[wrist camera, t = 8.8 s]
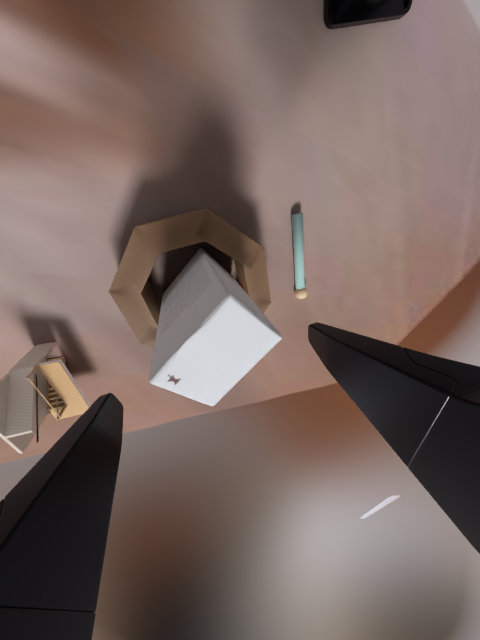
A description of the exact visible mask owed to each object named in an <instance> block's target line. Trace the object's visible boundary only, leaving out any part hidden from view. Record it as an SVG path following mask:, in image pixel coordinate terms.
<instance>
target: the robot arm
mask: <svg viewBox="0 0 480 640" xmlns="http://www.w3.org/2000/svg"><path fill="white" fill-rule="evenodd" d="M403 4H404V7H403ZM411 4H412V0H325V14H324V19H325V24H326V27H327V28H328V29H335V28H342V27H349V26H356V25H362V24H369V23H376V22H383V21H389V20H396V19H400V18H402V17H403V16H404V15H405V14H406V13H407V12H408V11H409V9H410V7H411ZM332 11H333V12H334V18H333V17H332ZM308 338H309V342H310V344H311V346H312V347H313V349H314V350H315V352H316V353H317V355H318V356H319V358H320V359H321V361H322V362H323V364H324V365H325V367H326V368H327V370H328V371H329V372H330V373H331V375H332V376H333V377H334V378H335V379H336V381H337V382H338V383H339V384H340V386H341V387H342V388H343V389H344V390H345V392H346V393H347V394H348V395H349V396H350V398H351V399H352V400H353V401H354V402H355V404H356V405H357V406H358V407H359V408H360V410H361V411H362V412H363V413H364V415H365V416H366V417H367V418H368V419H369V421H370V422H371V423H372V424H373V426H374V427H375V428H376V429H377V430H378V431H379V433H380V434H381V435H382V436H383V438H384V439H385V440H386V441H387V443H388V444H389V445H390V446H391V447H392V449H393V450H394V451H395V452H396V453H397V455H398V456H399V457H400V458H401V459H402V461H403V462H404V463H405V464H406V466H408V468H409V469H410V471H411V472H412V473H413V474H414V475H415V477H416V478H417V479H418V480H419V482H420V483H421V484H422V485H423V486H424V488H425V489H426V490H427V491H428V492H429V493H430V495H431V496H432V497H433V499H434V500H435V501H436V502H437V503H438V505H439V506H440V507H441V508H442V509H443V511H444V512H445V513H446V514H447V515H448V517H449V518H450V519H451V520H452V522H453V523H454V524H455V525H456V526H457V527H458V529H459V530H460V531H461V532H462V534H463V535H464V536H465V537H466V539H467V540H468V541H469V542H470V543H471V545H472V546H473V547H474V548H475V549H476V550H477V551H478V552H479V553H480V367H479V366H474V365H470V364H466V363H462V362H457V361H453V360H449V359H445V358H441V357H437V356H432V355H429V354H426V353H422V352H418V351H414V350H411V349H408V348H402V347H400V346H397V345H394V344H390V343H387V342H384V341H380V340H377V339H373V338H370V337H366V336H363V335H359V334H356V333H353V332H349V331H346V330H342V329H339V328H335V327H332V326H328V325H325V324H322V323H318V322H316V323H313V324H310V325H309V326H308ZM122 429H123V405H122V404H121V402H120V401H119V400H118V399H117V398H116V397H115V396H114V395H113V394H112V393H108V394H105V395H102V396H100V397H99V398H98V399H97V400H96V401H95V402H94V403H93V404H92V405H91V406H90V407H89V408H88V409H87V410H86V412H85V413H84V414H83V415H82V416H81V417H80V418H79V419H78V420H77V421H76V422H75V423H74V424H73V425H72V426H71V427H70V429H69V430H68V431H67V432H66V433H65V434H64V435H63V436H62V437H61V438H60V439H59V440H58V441H57V442H56V443H55V444H54V445H53V447H52V448H51V449H50V450H49V451H48V452H47V453H46V454H45V455H44V456H43V457H42V458H41V459H40V460H39V461H38V462H37V463H36V465H35V466H34V467H33V468H32V469H31V470H30V471H29V472H28V473H27V474H26V475H25V476H24V477H23V478H22V479H21V481H19V483H18V484H17V485H16V486H15V487H14V488H13V489H12V490H11V491H10V492H9V493H8V494H7V495H6V497H5V499H3V500H1V502H0V640H91V639H92V633H93V627H94V620H95V611H96V606H97V599H98V593H99V587H100V581H101V575H102V568H103V562H104V555H105V549H106V542H107V536H108V530H109V523H110V517H111V510H112V504H113V498H114V492H115V485H116V479H117V472H118V466H119V459H120V453H121V446H122Z"/></svg>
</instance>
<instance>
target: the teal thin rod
mask: <svg viewBox="0 0 480 640" xmlns="http://www.w3.org/2000/svg"><path fill="white" fill-rule="evenodd" d="M292 232H293V250H294V268H295V286H296V290H295V296H296V297H297V298H299V299H303V298H305V297H306V296H307V293H308V292H307V289H306V288H305V281H304V245H303V213H296V214H293V215H292Z"/></svg>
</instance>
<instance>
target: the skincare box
mask: <svg viewBox="0 0 480 640" xmlns="http://www.w3.org/2000/svg"><path fill="white" fill-rule="evenodd" d="M281 339H282V336H281V334H280V333H279V331H278V330H277V329H276V328H275V327H274V326H273V324H272V323H271V322H270V321H269V320H268V318H267V317H266V316H265V315H264V314H263V312H262V311H261V310H260V309H259V308H258V306H257V305H256V304H255V303H254V302H253V300H252V299H251V298H250V297H249V296H248V294H247V293H246V292H245V291H244V290H243V288H242V287H241V286H240V285H239V284H238V282H237V281H236V280H235V279H234V277H233V276H232V275H231V274H230V273H229V272H227V271H226V270H225V269H224V268H223V267H222V266H221V265H220V264H219V263H218V262H217V261H215V260H214V259H213V258H212V257H211V256H210V255H209V254H208V253H207V252H206V251H204V250H203V249H202V248H200V249H199V250H198V251H197V252H196V254H195V255H194V256H193V257H192V259H191V260H190V261H189V262H188V263H187V265H186V266H185V267H184V268H183V270H182V271H181V272H180V273H179V275H178V276H177V277H176V278H175V279H174V281H173V282H172V283H171V284H170V286H169V287H168V288H167V289H166V291H165V292H164V293H163V296H162V302H161V309H160V315H159V322H158V328H157V334H156V340H155V347H154V352H153V358H152V364H151V372H150V379H149V382H150V384H153V385H156V386H158V387H161V388H164V389H167V390H169V391H172V392H175V393H177V394H180V395H183V396H185V397H188V398H190V399H193V400H196V401H198V402H201V403H204V404H207V405H210V406H214V405H215V404H216V403H217V402H218V401H219V400H220V399H221V398H222V397H223V396H224V395H225V394H226V393H227V392H228V391H229V390H230V389H231V388H232V387H233V386H234V385H235V384H236V383H237V382H238V381H239V380H240V379H241V378H242V377H243V376H244V375H245V374H246V373H247V372H248V371H249V370H250V369H251V368H252V367H253V366H254V365H255V364H256V363H257V362H258V361H260V360H261V359H262V358H263V357H264V356H265V355H266V354H267V353H268V352H269V351H270V350H271V349H272V348H273V347H274V346H275V345H276V344H277V343H278V342H279V341H280V340H281Z"/></svg>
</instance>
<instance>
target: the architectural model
mask: <svg viewBox="0 0 480 640" xmlns="http://www.w3.org/2000/svg"><path fill="white" fill-rule="evenodd" d="M56 344H57V342H51V343H45V344H39V345H35V346H34V347H33V348H32V349H31V350H30V351H29V352H28V353H27V354H26V355H25V356H24V357H23V358H22V359H21V360H20V361H19V362H18V363H17V364H16V365H15V366H14V367H13V368H12V369H11V370H10V371H9V373H8V374H6V375H5V376H4V377H3V378H2V379H1V380H0V437H1V438H2V439H4V440H5V441H6V442H7V443H8V444H9V445H10V446H12V447H13V448H14V449H15V450H16V451H17V452H19V453H20V454H21V453H23V452H24V451H25V449H26V448H27V446H28V445H29V443H30V441H31V440H32V438H33V437H34V435H35V434H36V432H37V442H38V429H39V427H40V426H41V424H42V422H43V421H44V419H45V418H46V416H47V415H48V414H50V412H51V413H52V415H53V416H54V417H55V418H56V420H59V419H63V418H67V417H71V416H75V415H80V414H84V413H85V412H86V410H87V409H88V408H89V407H90V406H91V404H90V403H89V401H88V400H87V398H86V397H85V395H84V394H83V392H82V391H81V389H80V388H79V386H78V385H77V383H76V381H75V380H74V378H73V377H72V375H71V374H70V372H69V371H68V369H67V368H66V363H65V358H64V356H62V357H60V358H54V359H48V358H47V360H46V358H45V357H46V356H47V355H48V353H49V352H50V351H51V350H52V349H53V348H54V347H55V346H56Z"/></svg>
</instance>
